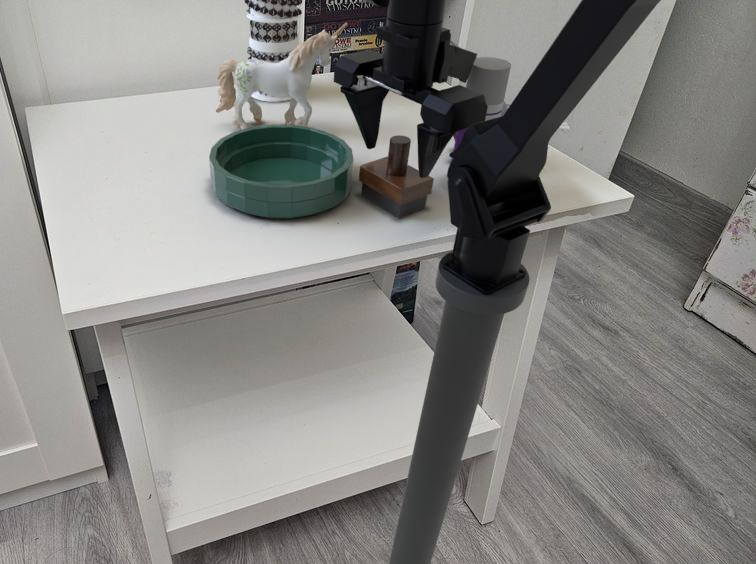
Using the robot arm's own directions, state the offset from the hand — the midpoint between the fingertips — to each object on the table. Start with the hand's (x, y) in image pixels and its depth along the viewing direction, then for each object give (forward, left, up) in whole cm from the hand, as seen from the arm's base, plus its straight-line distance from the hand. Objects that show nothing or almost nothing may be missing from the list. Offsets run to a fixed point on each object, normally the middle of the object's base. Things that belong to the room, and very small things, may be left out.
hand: (396, 162), depth 75 cm
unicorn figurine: (+28, -3, -5) cm, 29 cm away
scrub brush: (0, 0, -5) cm, 5 cm away
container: (-2, -11, -5) cm, 12 cm away
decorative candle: (+39, -9, -5) cm, 40 cm away
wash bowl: (+11, +9, -5) cm, 15 cm away
